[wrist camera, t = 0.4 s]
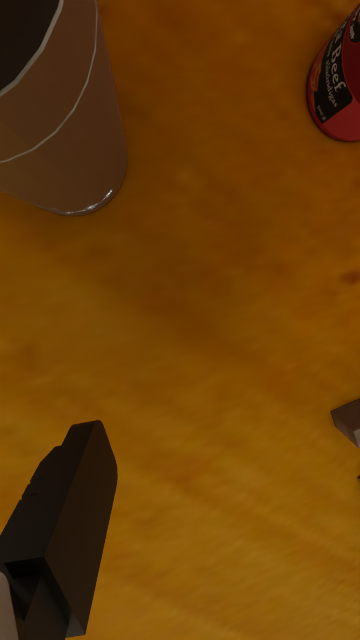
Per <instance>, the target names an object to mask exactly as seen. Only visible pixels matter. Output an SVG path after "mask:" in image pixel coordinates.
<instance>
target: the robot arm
mask: <svg viewBox="0 0 360 640" xmlns="http://www.w3.org/2000/svg"><path fill="white" fill-rule="evenodd" d="M126 167H127V147H126V142H125V137H124V132H123V126H122V120H121V115H120V110H119V105H118V101H117V96H116V91H115V86H114V81H113V76H112V71H111V66H110V61H109V56H108V51H107V46H106V41H105V36H104V31H103V26H102V21H101V16H100V11H99V6H98V1H97V0H0V191H1V192H3V193H6V194H8V195H11V196H13V197H15V198H18V199H20V200H23V201H25V202H27V203H30V204H32V205H35V206H37V207H39V208H42V209H44V210H47V211H50V212H52V213H55V214H58V215H65V216H81V215H86V214H89V213H92V212H95V211H97V210H98V209H100V208H102V207H104V206H105V205H106V204H107V203H108V202H109V201H110V200H111V199H113V198H114V196H115V195H116V193H117V192H118V190H119V189H120V187H121V184H122V182H123V179H124V177H125V173H126ZM116 486H117V464H116V460H115V457H114V454H113V451H112V449H111V446H110V443H109V440H108V437H107V434H106V431H105V429H104V426H103V424H102V422H101V421H100V420H96V421H90V422H85V423H79V424H74V425H72V426H71V427H70V429H69V431H68V433H67V435H66V437H65V439H64V441H63V443H62V445H61V446H56V447H54V448H53V450H52V451H51V452H50V453H49V454H48V455H47V456H46V457H45V458H44V459H43V460H42V461H41V462H40V464H39V465H38V467H37V469H36V471H35V473H34V475H33V476H32V478H31V480H30V484H28V486H27V487H26V489H25V491H24V493H23V495H22V500H19V502H18V504H17V506H16V508H15V509H14V511H13V513H12V515H11V517H10V519H9V520H8V522H7V524H6V526H5V528H4V530H3V531H2V533H1V535H0V640H65V638H68V637H74V636H81V635H85V634H86V629H87V624H88V619H89V615H90V610H91V605H92V600H93V596H94V591H95V586H96V581H97V577H98V572H99V567H100V562H101V557H102V553H103V548H104V543H105V538H106V534H107V529H108V524H109V519H110V515H111V510H112V505H113V500H114V496H115V491H116Z"/></svg>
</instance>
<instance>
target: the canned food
mask: <svg viewBox="0 0 360 640" xmlns="http://www.w3.org/2000/svg"><path fill="white" fill-rule="evenodd" d="M307 91H308V103H309V107H310V111H311V113H312V116H313V118H314V120H315V122H316V123H317V125H318V126H319V127H320V128H321V129H322V130H323V131H324V132H325V133H326V134H327V135H329V136H330V137H332V138H335V139H337V140H341V141H358V140H360V4H359V5H358V6H357V7H356V8H355V9H354V11H353V12H352V13H351V14H350V15H349V17H348V18H347V19H346V20H345V21H344V23H343V24H342V25H341V26H340V27H339V28H338V30H337V31H336V32H335V33H334V34H333V36H332V37H331V38H330V39H329V40H328V41H327V43H326V44H325V45H324V47H323V48H322V49H321V51H320V52H319V54H318V56H317V58H316V60H315V62H314V65H313V68H312V70H311V74H310V77H309V81H308V90H307Z"/></svg>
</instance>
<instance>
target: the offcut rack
mask: <svg viewBox="0 0 360 640" xmlns="http://www.w3.org/2000/svg"><path fill="white" fill-rule="evenodd" d="M331 414H332V417H333V420H334V423H335V427H336V428H338V429H339V430H340V431H341V432H342V433H343V434H344V435H345V436H346V437H347V438H348V439H349V440H350V441H352V442H353V443H354V444H355V445H356V446H357V447H358V448H360V399H358V400H356V401H353V402H351V403H349V404H347V405H344V406H342V407H340V408H338V409H335V410H333V411H331Z"/></svg>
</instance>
